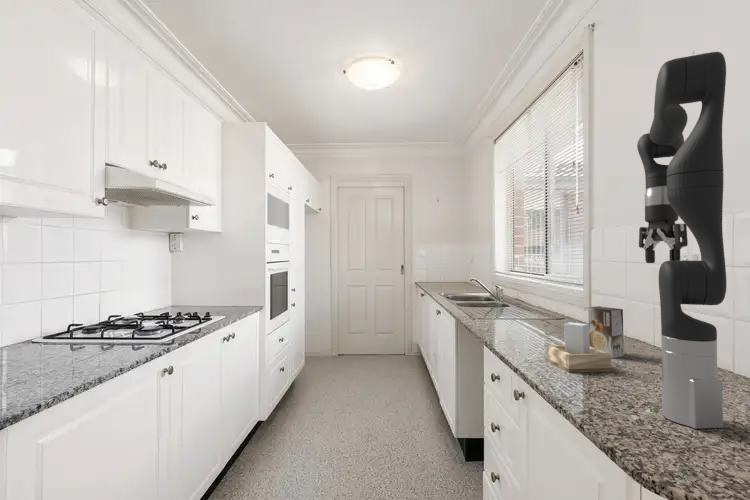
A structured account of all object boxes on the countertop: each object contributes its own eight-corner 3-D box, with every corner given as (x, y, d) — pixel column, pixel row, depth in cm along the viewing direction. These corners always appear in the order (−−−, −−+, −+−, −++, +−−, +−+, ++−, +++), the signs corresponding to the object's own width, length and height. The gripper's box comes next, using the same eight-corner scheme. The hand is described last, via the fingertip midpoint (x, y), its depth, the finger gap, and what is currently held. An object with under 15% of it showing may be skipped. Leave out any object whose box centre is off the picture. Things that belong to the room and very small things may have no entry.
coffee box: (625, 356, 137) (624, 308, 137) (612, 358, 134) (612, 310, 134) (600, 350, 145) (599, 305, 145) (587, 352, 142) (587, 306, 142)
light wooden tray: (611, 371, 119) (611, 354, 119) (568, 372, 118) (568, 355, 118) (585, 359, 132) (585, 344, 132) (546, 360, 131) (546, 345, 131)
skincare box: (591, 363, 124) (590, 324, 125) (584, 365, 122) (584, 325, 122) (570, 359, 129) (570, 321, 129) (564, 361, 126) (563, 323, 126)
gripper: (696, 201, 104) (697, 263, 104) (654, 207, 118) (655, 262, 118) (668, 200, 104) (669, 264, 103) (630, 207, 118) (630, 262, 118)
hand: (661, 263), depth 111 cm, fingers open, 8 cm apart
